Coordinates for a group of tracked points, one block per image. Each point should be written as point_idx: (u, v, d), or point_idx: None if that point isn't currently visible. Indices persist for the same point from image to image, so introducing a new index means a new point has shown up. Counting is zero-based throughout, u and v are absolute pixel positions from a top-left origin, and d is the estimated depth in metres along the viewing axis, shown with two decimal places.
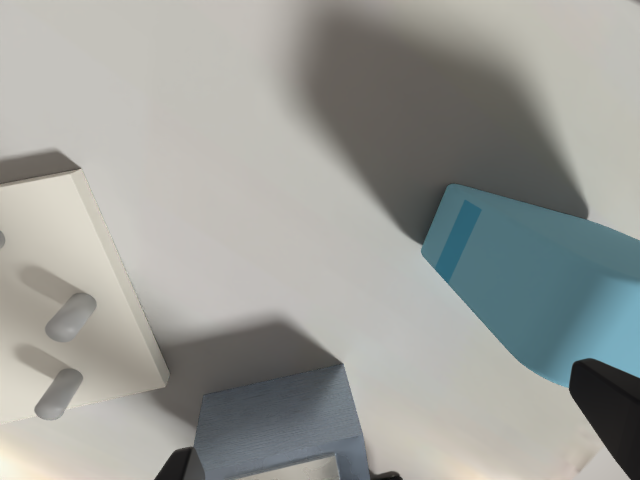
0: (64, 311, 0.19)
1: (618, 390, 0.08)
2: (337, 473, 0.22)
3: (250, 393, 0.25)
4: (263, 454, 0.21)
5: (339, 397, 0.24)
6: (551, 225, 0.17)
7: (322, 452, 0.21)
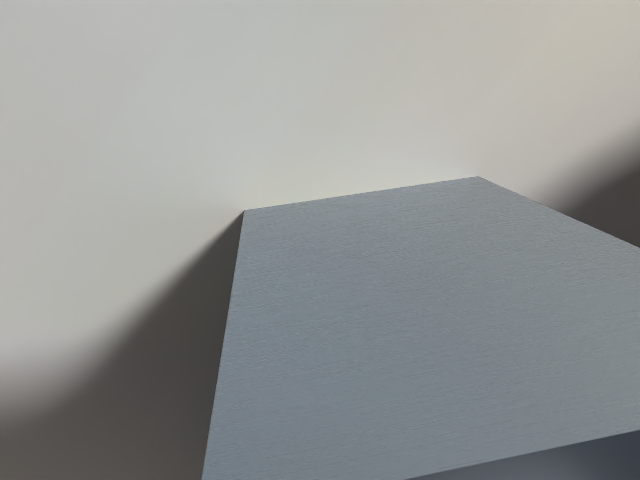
0: None
1: None
2: None
3: None
4: None
5: None
6: None
7: None
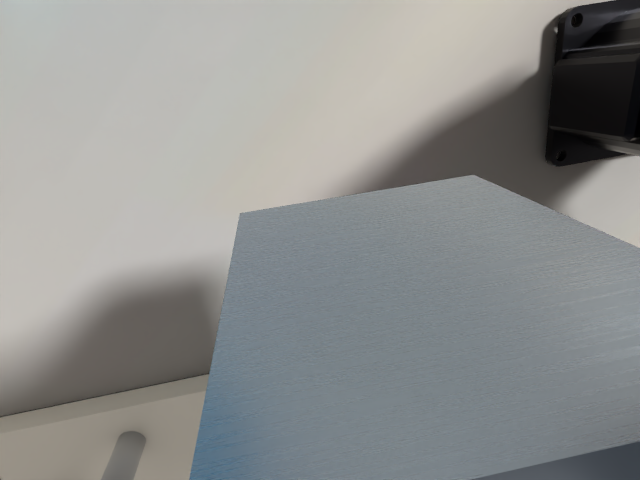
0: None
1: None
2: None
3: None
4: None
5: None
6: None
7: None
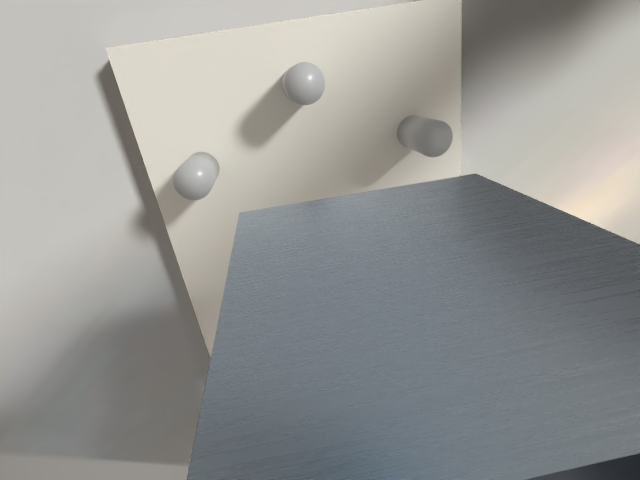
0: (284, 82, 0.14)
1: None
2: None
3: None
4: None
5: None
6: None
7: None
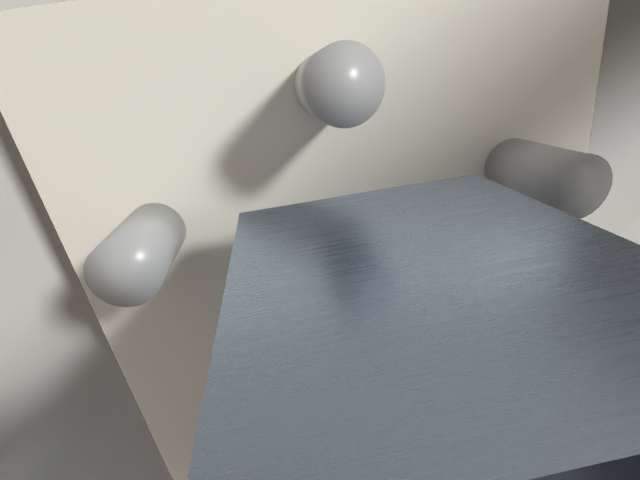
0: (302, 83, 0.07)
1: None
2: None
3: None
4: None
5: None
6: None
7: None
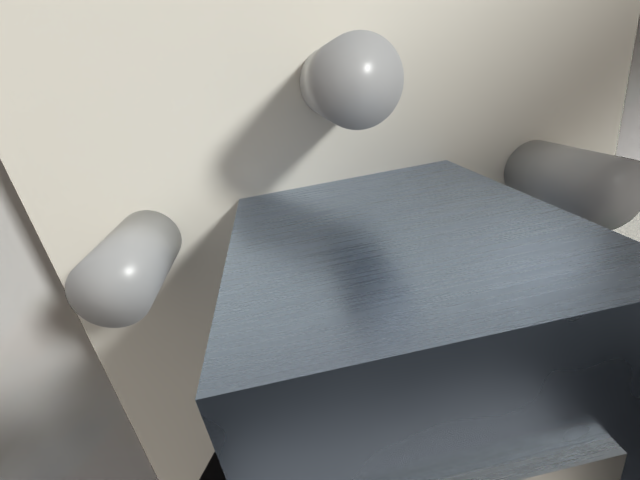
0: (309, 79, 0.06)
1: None
2: None
3: None
4: None
5: None
6: None
7: None
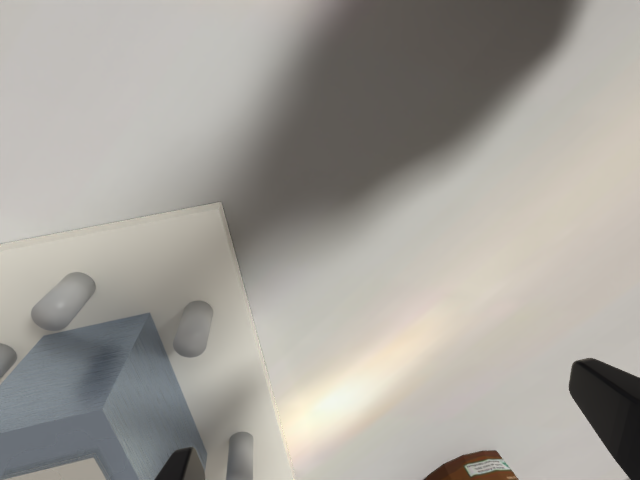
0: None
1: (618, 390, 0.08)
2: (45, 471, 0.13)
3: None
4: None
5: None
6: None
7: None
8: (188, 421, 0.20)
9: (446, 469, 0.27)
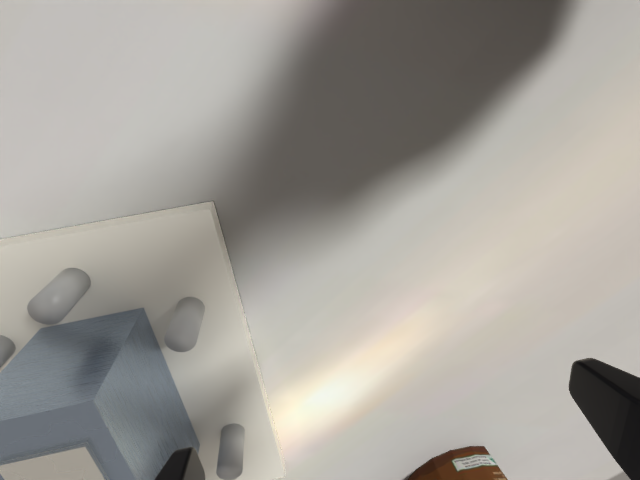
0: None
1: (618, 390, 0.08)
2: (39, 458, 0.14)
3: None
4: None
5: None
6: None
7: (0, 475, 0.14)
8: (181, 412, 0.21)
9: (434, 463, 0.28)
